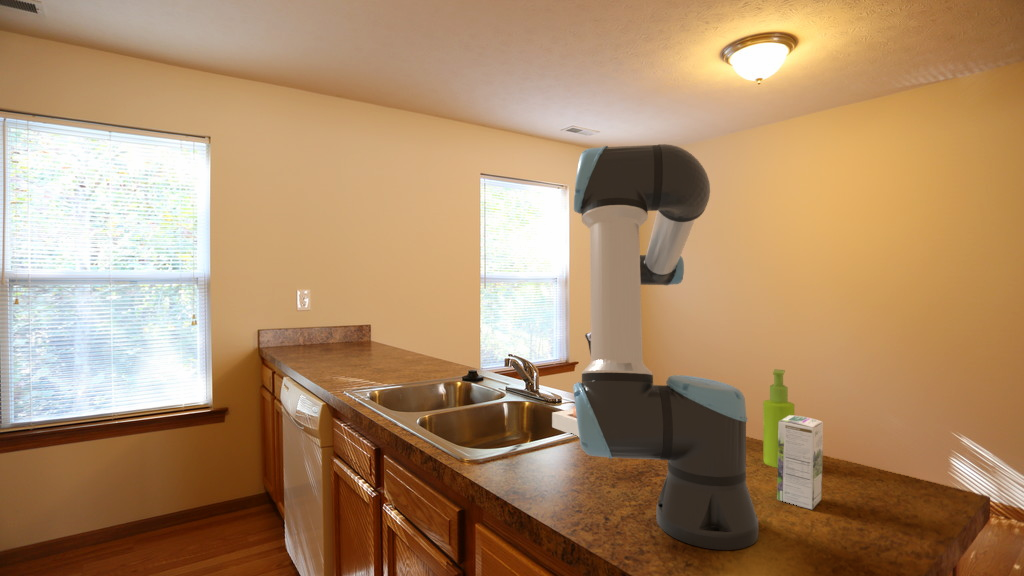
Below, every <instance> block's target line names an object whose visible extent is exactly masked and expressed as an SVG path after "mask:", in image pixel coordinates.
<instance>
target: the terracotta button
mask: <svg viewBox="0 0 1024 576" xmlns="http://www.w3.org/2000/svg"><path fill="white" fill-rule="evenodd" d="M572 409H573V417H574V418H577V416H576V408H575V406H573V407H572Z"/></svg>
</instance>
